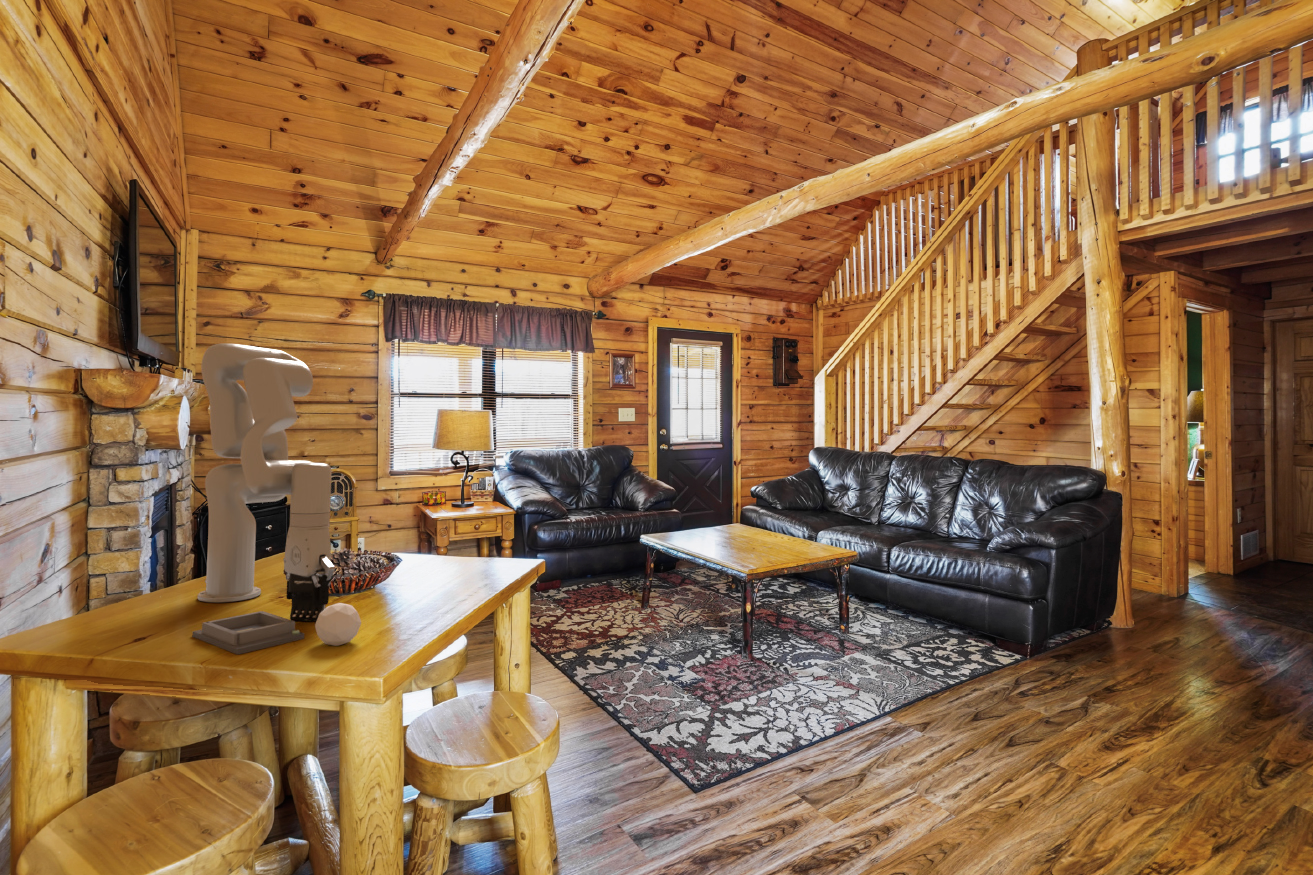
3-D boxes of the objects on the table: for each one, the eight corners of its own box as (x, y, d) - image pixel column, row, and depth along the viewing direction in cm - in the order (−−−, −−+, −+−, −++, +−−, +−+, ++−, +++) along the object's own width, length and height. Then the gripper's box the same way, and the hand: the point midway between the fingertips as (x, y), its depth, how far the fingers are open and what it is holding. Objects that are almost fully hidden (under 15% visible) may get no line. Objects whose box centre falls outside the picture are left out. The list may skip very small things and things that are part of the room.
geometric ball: (341, 660, 122) (340, 634, 118) (306, 642, 124) (304, 615, 119) (370, 631, 128) (369, 605, 124) (336, 614, 130) (335, 588, 125)
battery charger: (284, 622, 136) (286, 567, 136) (294, 617, 140) (296, 564, 140) (318, 623, 136) (320, 568, 136) (326, 618, 140) (329, 565, 140)
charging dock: (192, 636, 125) (193, 620, 125) (257, 622, 135) (258, 608, 135) (237, 654, 116) (238, 637, 116) (304, 638, 126) (304, 622, 126)
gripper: (269, 518, 139) (267, 598, 139) (316, 526, 130) (313, 611, 130) (304, 515, 146) (301, 592, 146) (350, 522, 137) (348, 604, 137)
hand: (307, 601), depth 138 cm, fingers open, 9 cm apart
